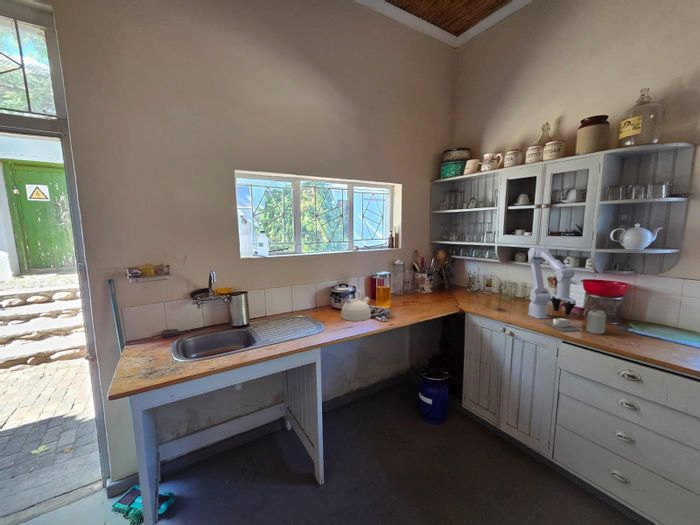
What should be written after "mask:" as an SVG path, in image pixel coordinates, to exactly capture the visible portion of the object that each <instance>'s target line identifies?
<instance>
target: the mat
mask: <svg viewBox="0 0 700 525" xmlns="http://www.w3.org/2000/svg"><path fill="white" fill-rule="evenodd" d="M543 324H544V325H546V326H548V327H551V328H554V329H555V330H558V331H561V332H563V333H568V332H580V331H581V329H578V328H576V327H573V326H570V324H568V325H567V327H553V321H549V322H546V321H545V322H543Z"/></svg>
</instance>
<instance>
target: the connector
mask: <svg viewBox="0 0 700 525" xmlns="http://www.w3.org/2000/svg"><path fill="white" fill-rule="evenodd" d="M552 322H553V327H567V325H571V321H570V320H569V319H566V318H561V317H560V318H558V317H557V318H552ZM553 327H552V328H553Z"/></svg>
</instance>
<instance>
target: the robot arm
mask: <svg viewBox="0 0 700 525" xmlns="http://www.w3.org/2000/svg"><path fill="white" fill-rule="evenodd" d="M527 256H528V261H529V262H530V268H531V275H532V280H533V281H532V282H533V288H532V289H531V290H530V291H529V292H530V294H529V299H530V302H529V304H528V313H527V315H528V316H530V317H533V318H535V319H551V318H550V317H549V316H548V315H547V306H548V304H549V302H551V304H552V307H553V310H554V312H558V311H559V310H560V305H561V302H563V301H564V302H563V305H564V315H565V316H570V315H571V313H572V311H573V309H574V308H575V306H577V304H576V303H577V302H576V301H577V300H576V299H574V298H572V297H570V296H571V295H570V293H571V283H572V282H571V280H572V278H574V276H575V271H574V269H573V268H572V267H567V266H566V265H565V264H564V263H563V262H562V261H561V260H560V259H555V258H554V256H553V255H552V254H551V251H550V249H549V248H548V247H530V248H529V250H528V251H527ZM543 261H546V262H547V263H548V264H549V267H550V269H551V270H553V271H554V273H555V277H556V281H557V288H556V293H551V294H550V292H549V289H547V288H546V287H545V285H544V284H545V283H544V279H543V277H544V276H543V273H542V264H541V263H542V262H543Z"/></svg>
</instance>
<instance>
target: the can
mask: <svg viewBox="0 0 700 525" xmlns="http://www.w3.org/2000/svg"><path fill="white" fill-rule="evenodd" d="M606 318H607V314H606V312H605V311H604V310H601V309H589V311H588V312H587V318H586V331H587V332H588V333H590V334H592V335H603V334H605V331H606V321H607V319H606Z"/></svg>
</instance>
